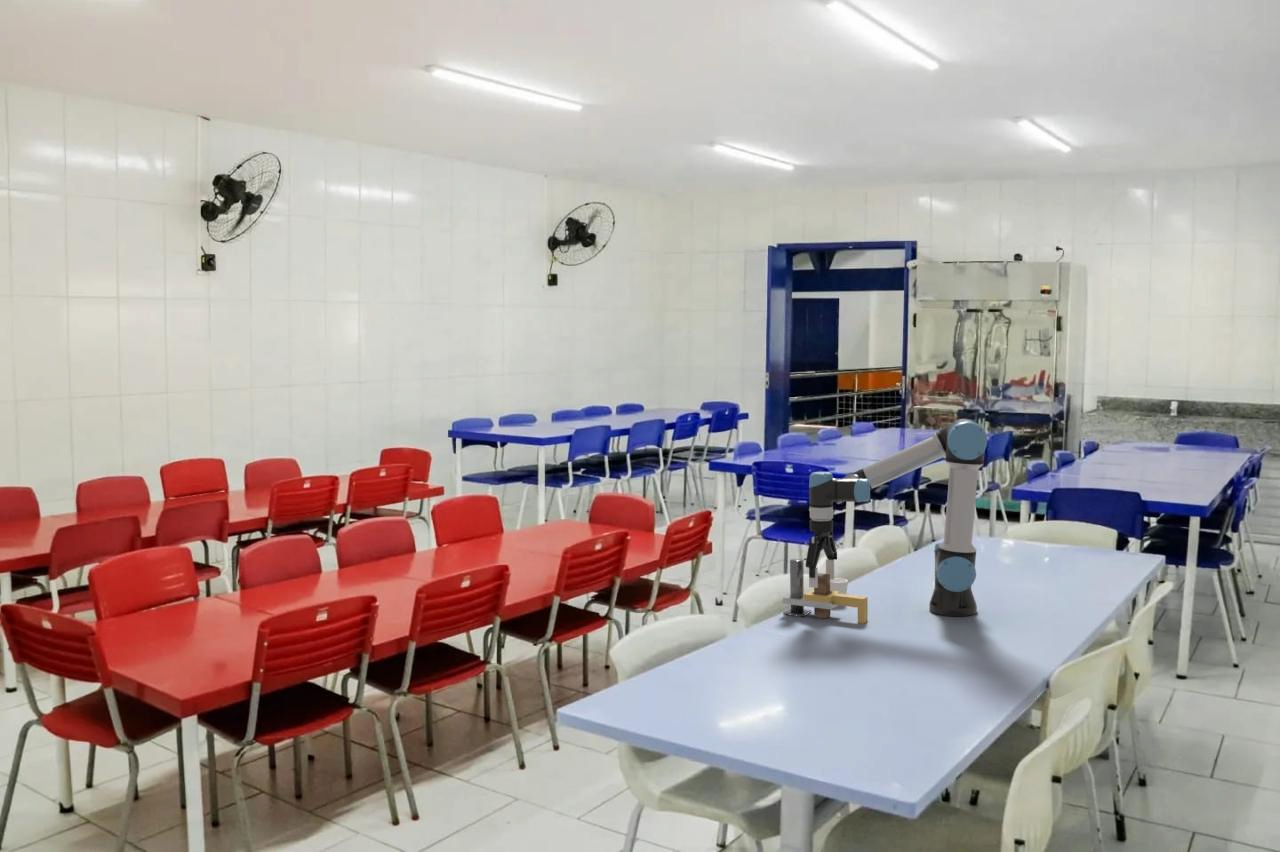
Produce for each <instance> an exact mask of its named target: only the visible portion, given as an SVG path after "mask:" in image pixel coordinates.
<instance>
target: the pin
mask: <svg viewBox="0 0 1280 852" xmlns="http://www.w3.org/2000/svg"><path fill="white" fill-rule="evenodd" d="M813 589H814V594H818V595H828V594H830V574H826V573H822V572H821V573H820V572H819V573H818V588H813ZM831 610H832V609H831ZM831 610H830V609H822V608H814V607H813V611H814V612H813V614H814V616H815V617H820V618H819V619H823V618H826V619H828V618H830V617H831V616H830V615H831ZM829 616H830V617H829ZM815 617H814V618H815ZM827 617H828V618H827Z"/></svg>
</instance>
